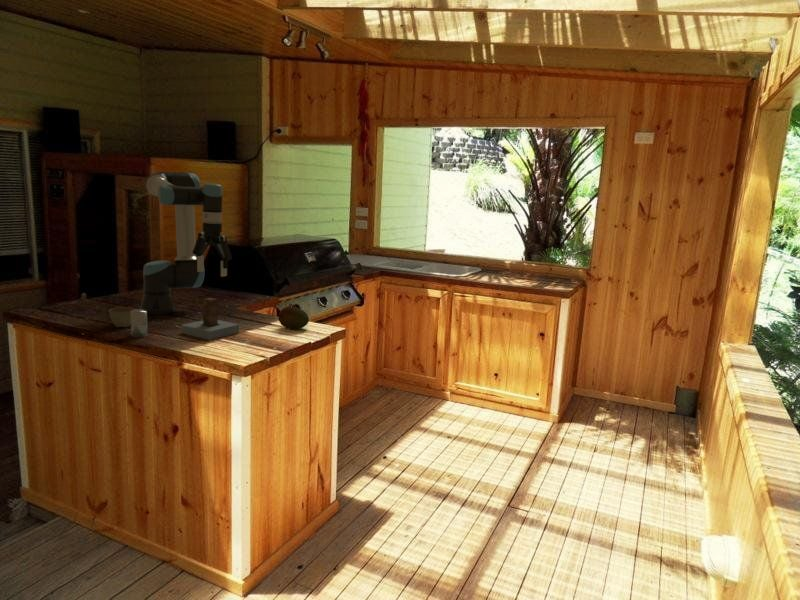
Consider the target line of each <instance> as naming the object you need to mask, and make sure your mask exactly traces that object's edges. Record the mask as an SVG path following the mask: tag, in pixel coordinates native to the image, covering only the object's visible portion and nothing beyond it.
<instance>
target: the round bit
mask: <svg viewBox="0 0 800 600" xmlns="http://www.w3.org/2000/svg"><path fill="white" fill-rule="evenodd" d="M134 309H135V310H131V311H130V315H131V324H130V337H132V338H145V337H148V334H149V333H148V314H147V310H144V309H140V308H138V309H136V308H134Z"/></svg>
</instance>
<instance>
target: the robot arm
mask: <svg viewBox="0 0 800 600" xmlns="http://www.w3.org/2000/svg"><path fill="white" fill-rule="evenodd" d="M144 185H145V186H144V187H145V189H146V191H147V193H148V194H149V195H152V196H154V197H157V198H158V199H157V200H158V202H159V204H161V205H167V206H171V205H172V206H174V211H175V213H174V214H175V231H176V232H175V234H176V257H175V258H174V259H173V262H174V263H171V261H170V260H155V261H154V260H153V261H150V262H147V263H145V264H144V265H143V267H142V268H143V270H142V272H143V273H142V277H143V296H142V299H141V303H140V306H139V309H144V310H147V315H168V314H172V313H175V311H176V306H175V304H174V301H173V297H172V294H171V293H172V291H171V290H173V289H193V288H199V287H201V286H202V285H203V282H204V279H205V274H206V271H205V264H204V263H205V262H204V261H205V260H204V259H205V258H204V257H205V256H204V253H205V251H206V250H207V248H208V247H209V246H213V247H214V248H215V249H216V251H217V253H218V254H219V256H220V259H221V260H220V277H221V278H223V277H227V276H228V268H229V260H233V256H232V253H231V249H230V246H229V243H228V240H227V236H226V235H221V233H222V231H223V224H222V222H223V187H222V185H221V184H219V183H218V184H217V183H203V185H202V186H201V181H200V179H199V177H198V175H197V174H195V173H193V172H182V171H178V172H177V171H163V170H162V171H157V172H154V173H151V174H150V175H149V176H148V177H147V178H146V179H145V183H144ZM195 206H198V207H199V206H201V207H202V221H203V222H202V232H198V234H197V237H196V216H195V215H196V214H195Z"/></svg>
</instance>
